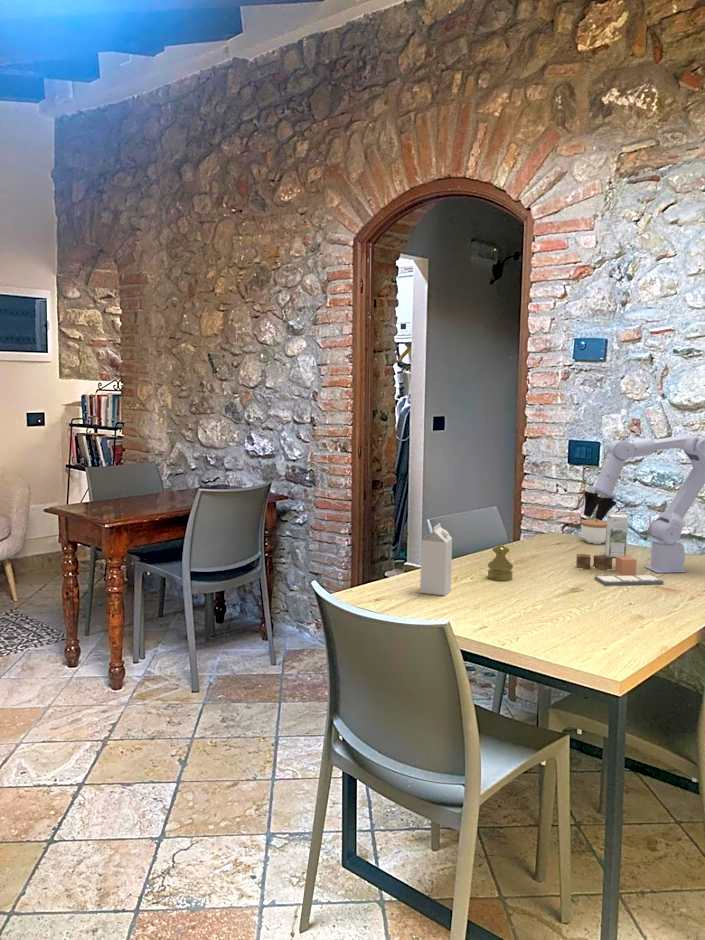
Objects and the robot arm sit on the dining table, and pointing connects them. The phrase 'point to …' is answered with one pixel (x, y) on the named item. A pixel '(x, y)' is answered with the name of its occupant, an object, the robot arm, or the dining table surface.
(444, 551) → the milk carton
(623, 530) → the syrup box
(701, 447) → the robot arm
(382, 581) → the dining table surface
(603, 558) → the walnut block
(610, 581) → the board
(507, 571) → the olive green tiered piece
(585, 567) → the walnut block
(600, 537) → the lidded jar
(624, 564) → the orange brown block
